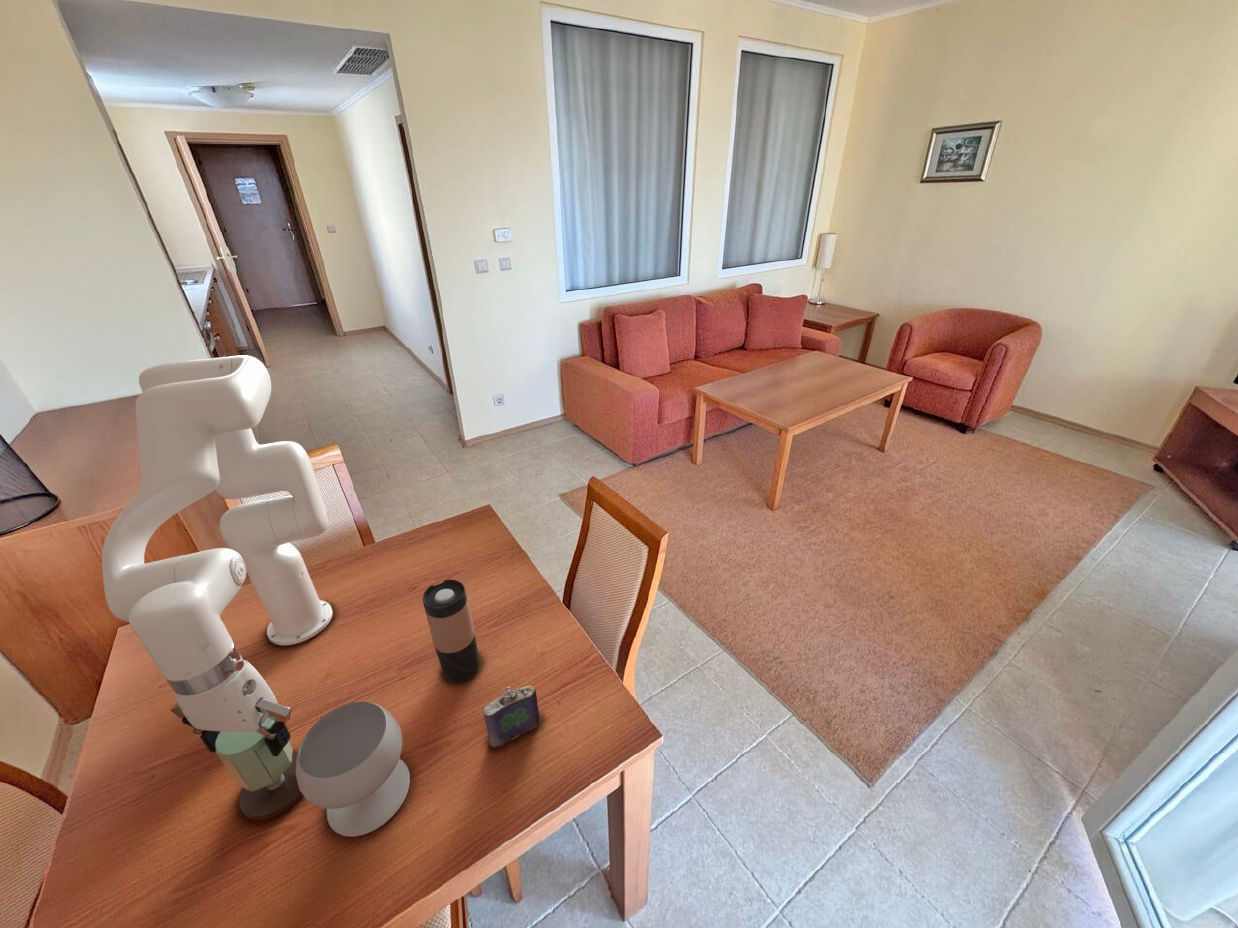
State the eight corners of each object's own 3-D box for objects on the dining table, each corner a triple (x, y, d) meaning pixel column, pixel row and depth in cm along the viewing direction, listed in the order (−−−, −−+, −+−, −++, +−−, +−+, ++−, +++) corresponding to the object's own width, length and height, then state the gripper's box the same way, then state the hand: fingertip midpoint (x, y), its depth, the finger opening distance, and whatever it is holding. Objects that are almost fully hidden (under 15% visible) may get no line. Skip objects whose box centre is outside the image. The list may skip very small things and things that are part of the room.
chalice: (413, 827, 75) (390, 769, 67) (310, 858, 71) (274, 802, 64) (418, 740, 86) (399, 684, 79) (330, 764, 83) (302, 707, 76)
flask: (492, 751, 85) (483, 711, 80) (487, 736, 87) (478, 697, 82) (542, 724, 89) (537, 685, 84) (536, 712, 91) (530, 672, 86)
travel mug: (470, 686, 96) (452, 611, 86) (434, 680, 97) (413, 605, 88) (487, 655, 102) (472, 581, 93) (453, 649, 104) (435, 576, 94)
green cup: (242, 755, 79) (220, 720, 75) (294, 736, 82) (275, 701, 77) (235, 798, 73) (210, 763, 69) (290, 776, 76) (269, 741, 72)
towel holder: (246, 771, 82) (212, 718, 75) (314, 745, 86) (287, 692, 79) (236, 832, 74) (196, 780, 68) (311, 801, 78) (281, 747, 71)
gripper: (284, 646, 69) (321, 724, 77) (168, 641, 70) (217, 718, 78) (245, 694, 62) (290, 773, 70) (118, 687, 64) (176, 766, 72)
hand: (251, 744), depth 74 cm, fingers open, 9 cm apart
